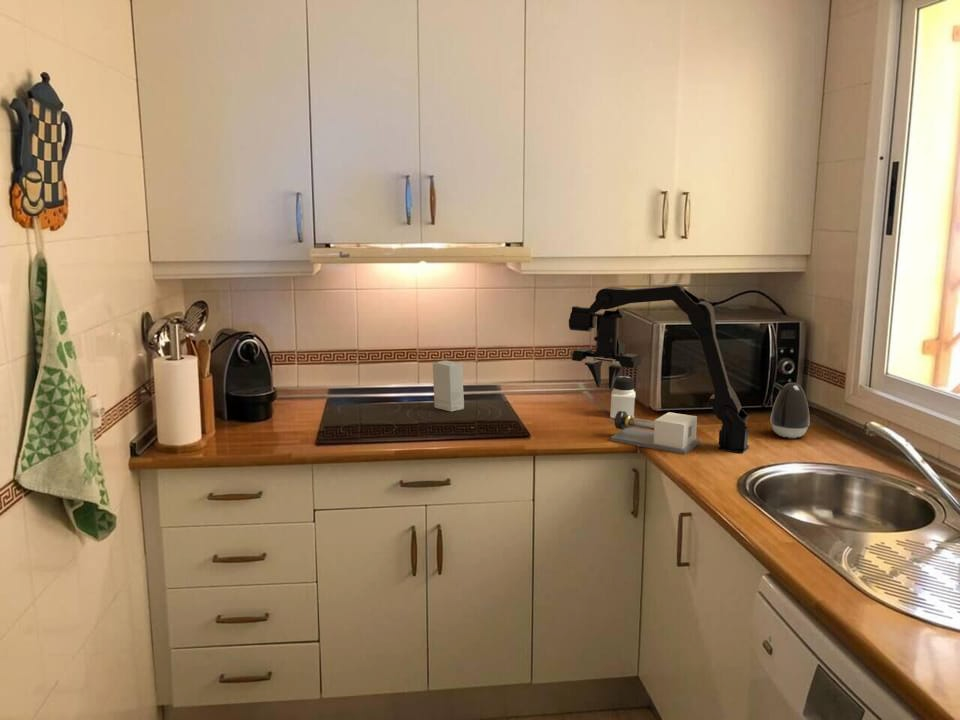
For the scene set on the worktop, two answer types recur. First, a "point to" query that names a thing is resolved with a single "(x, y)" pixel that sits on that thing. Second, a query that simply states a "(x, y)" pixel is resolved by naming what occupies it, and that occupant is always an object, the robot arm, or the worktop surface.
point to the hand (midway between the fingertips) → (604, 387)
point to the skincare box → (448, 385)
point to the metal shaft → (632, 421)
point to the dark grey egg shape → (790, 411)
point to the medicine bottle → (623, 396)
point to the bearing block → (664, 434)
